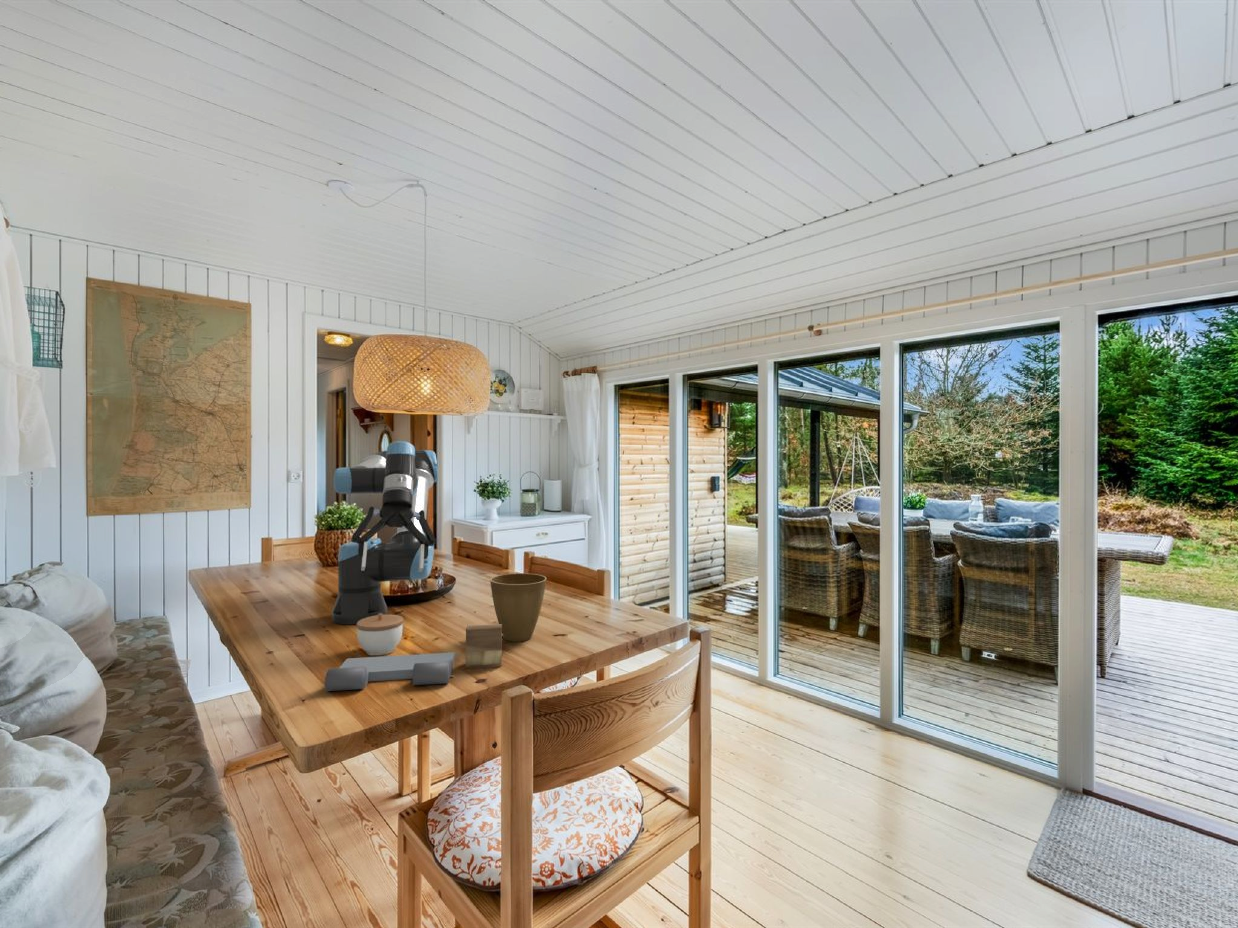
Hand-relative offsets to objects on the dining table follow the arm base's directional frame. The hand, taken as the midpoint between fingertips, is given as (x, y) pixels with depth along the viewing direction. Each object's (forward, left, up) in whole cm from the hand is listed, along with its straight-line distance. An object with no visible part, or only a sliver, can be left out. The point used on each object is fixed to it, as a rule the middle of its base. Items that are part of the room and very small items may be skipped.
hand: (392, 569), depth 140 cm
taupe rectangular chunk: (+15, +23, -20) cm, 34 cm away
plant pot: (-4, +31, -20) cm, 38 cm away
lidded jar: (+1, -3, -20) cm, 21 cm away
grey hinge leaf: (+19, +4, -20) cm, 28 cm away
